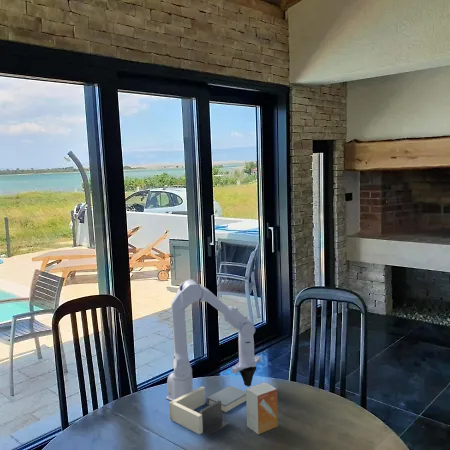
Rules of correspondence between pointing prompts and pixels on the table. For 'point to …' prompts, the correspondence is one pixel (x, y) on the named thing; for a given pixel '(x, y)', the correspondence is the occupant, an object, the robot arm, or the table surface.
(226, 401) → the book
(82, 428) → the table surface
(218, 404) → the bookend
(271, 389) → the small box
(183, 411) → the cream corner tray
